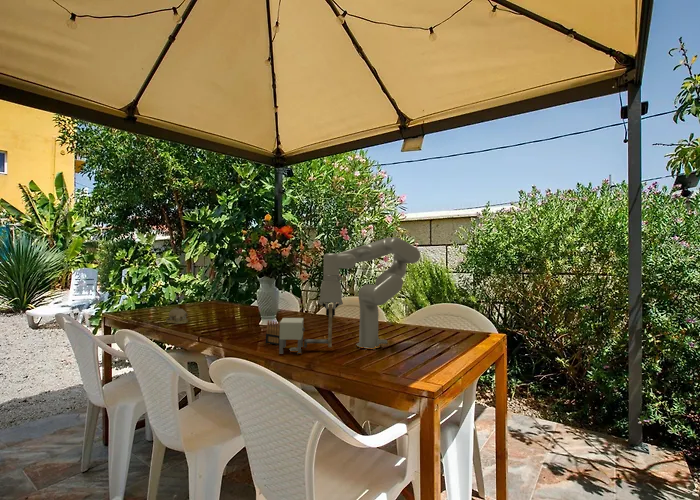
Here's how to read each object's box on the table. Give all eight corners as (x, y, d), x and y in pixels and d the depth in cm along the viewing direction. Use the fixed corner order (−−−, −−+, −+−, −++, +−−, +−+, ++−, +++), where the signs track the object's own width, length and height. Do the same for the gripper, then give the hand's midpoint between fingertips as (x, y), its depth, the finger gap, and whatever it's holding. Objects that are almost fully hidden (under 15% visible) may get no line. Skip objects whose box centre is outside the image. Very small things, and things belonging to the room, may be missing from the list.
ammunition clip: (265, 343, 196) (265, 320, 196) (267, 342, 197) (268, 319, 197) (281, 346, 190) (281, 322, 190) (283, 345, 192) (284, 321, 192)
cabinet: (304, 348, 187) (305, 318, 187) (303, 354, 174) (303, 322, 175) (282, 347, 187) (283, 317, 187) (279, 354, 174) (279, 322, 174)
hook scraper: (331, 345, 184) (332, 304, 184) (331, 347, 179) (332, 305, 179) (304, 345, 183) (305, 303, 184) (303, 347, 178) (304, 305, 179)
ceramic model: (191, 321, 256) (191, 306, 257) (183, 324, 245) (183, 308, 245) (171, 320, 257) (171, 306, 257) (162, 323, 246) (162, 308, 246)
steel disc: (300, 350, 183) (300, 347, 183) (299, 353, 178) (299, 350, 178) (289, 350, 183) (289, 347, 183) (288, 353, 178) (288, 350, 178)
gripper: (346, 278, 186) (346, 316, 186) (315, 278, 185) (314, 315, 185) (347, 279, 179) (347, 318, 179) (314, 279, 178) (313, 318, 178)
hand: (330, 316), depth 182 cm, fingers closed on hook scraper, 1 cm apart
